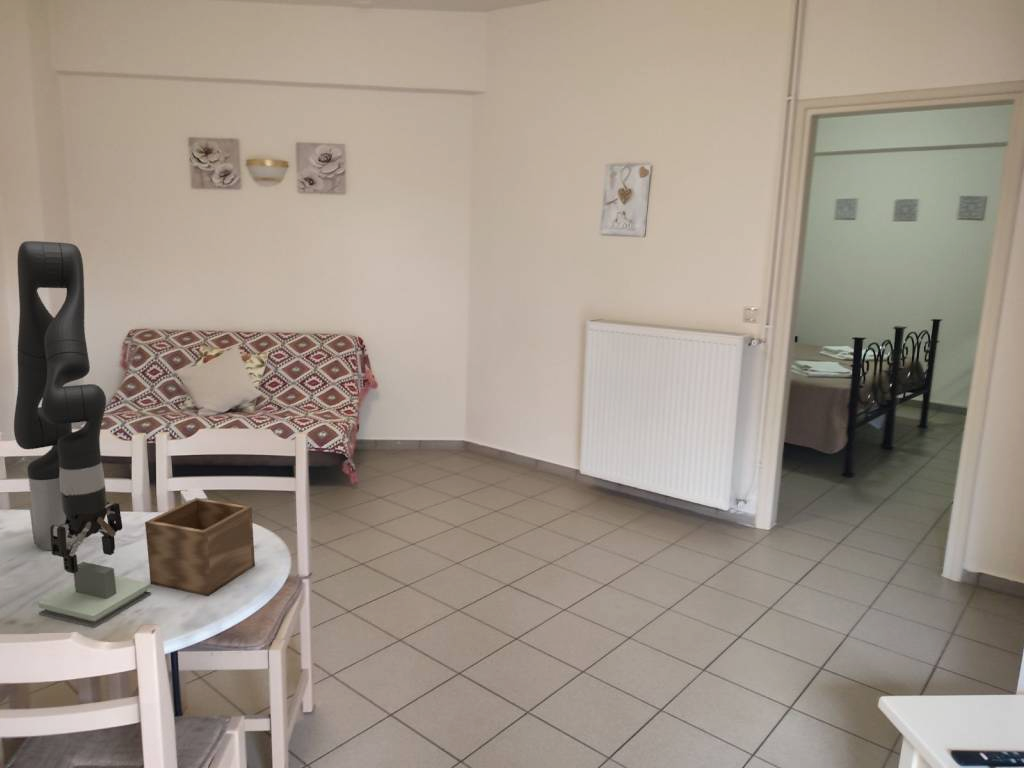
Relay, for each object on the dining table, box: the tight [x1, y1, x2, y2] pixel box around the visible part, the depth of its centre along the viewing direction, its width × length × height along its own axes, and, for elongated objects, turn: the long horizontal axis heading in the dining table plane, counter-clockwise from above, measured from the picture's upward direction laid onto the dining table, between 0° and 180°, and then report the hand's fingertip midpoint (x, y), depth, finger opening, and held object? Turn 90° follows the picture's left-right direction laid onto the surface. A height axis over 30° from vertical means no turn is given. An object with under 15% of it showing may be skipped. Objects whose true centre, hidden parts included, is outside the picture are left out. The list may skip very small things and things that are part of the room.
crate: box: [144, 498, 256, 597], centre depth 162 cm, size 15×15×14 cm
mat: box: [38, 590, 152, 629], centre depth 150 cm, size 14×14×1 cm
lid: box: [37, 561, 152, 622], centre depth 149 cm, size 14×14×8 cm
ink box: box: [180, 487, 209, 505], centre depth 180 cm, size 9×5×12 cm, turn 33°
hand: (90, 562), depth 148 cm, fingers open, 8 cm apart
